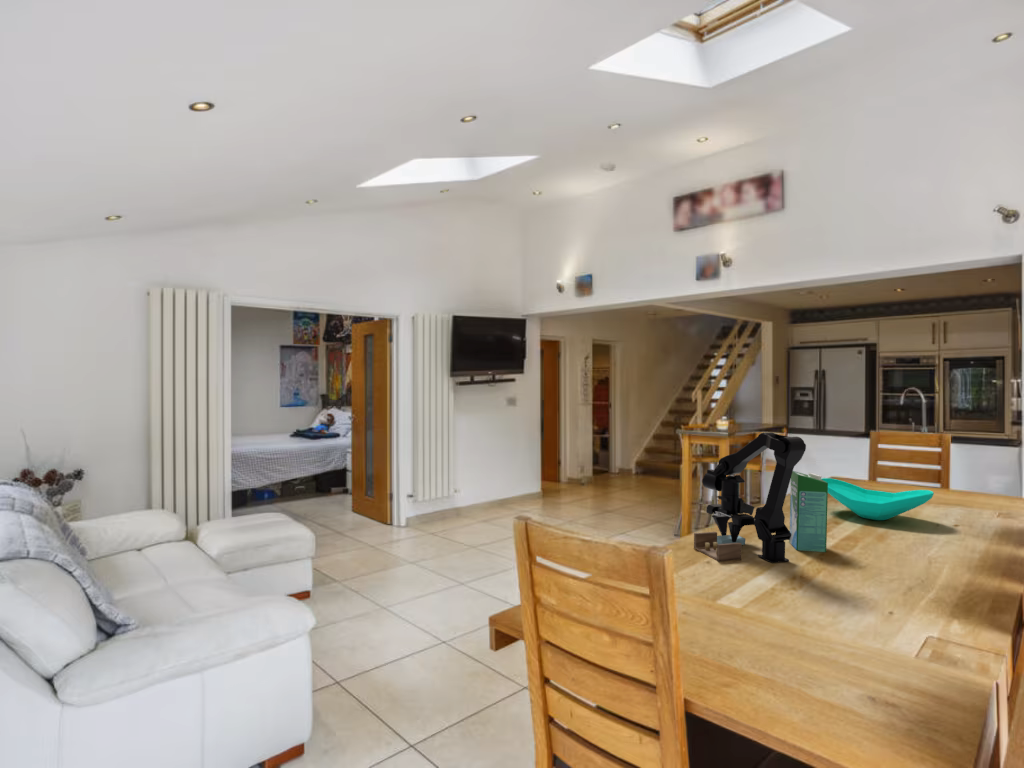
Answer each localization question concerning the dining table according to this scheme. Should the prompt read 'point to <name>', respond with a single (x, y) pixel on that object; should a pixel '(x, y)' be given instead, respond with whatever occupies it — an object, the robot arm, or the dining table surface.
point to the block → (729, 539)
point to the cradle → (716, 547)
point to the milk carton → (808, 512)
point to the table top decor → (876, 500)
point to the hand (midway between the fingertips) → (729, 539)
